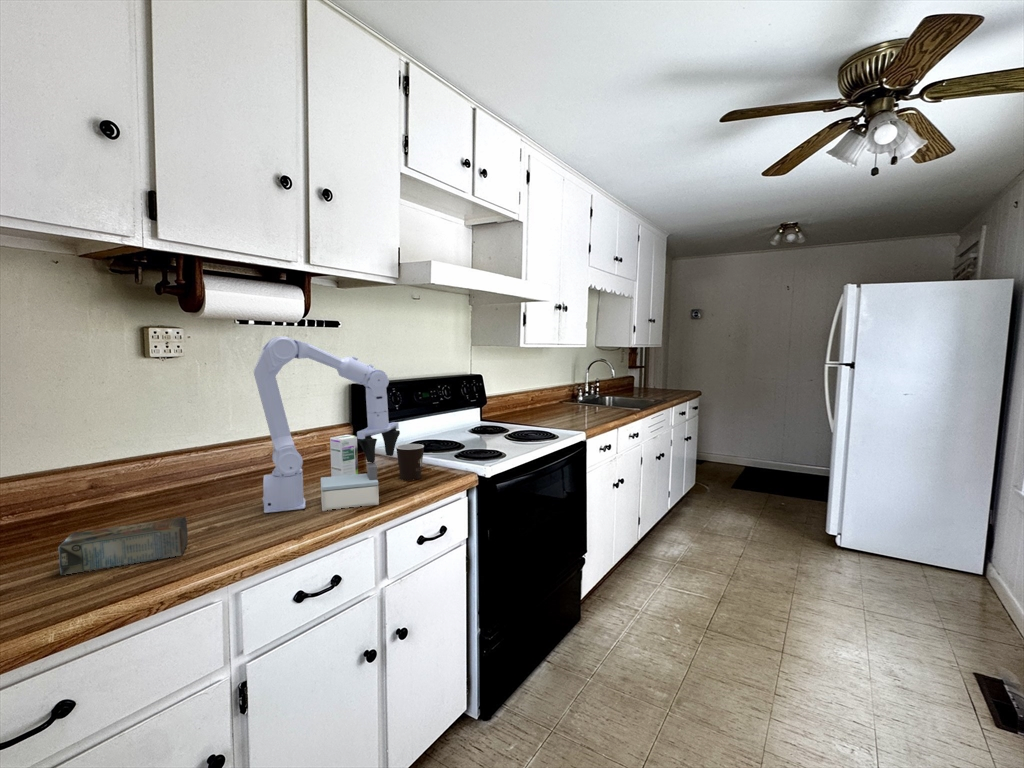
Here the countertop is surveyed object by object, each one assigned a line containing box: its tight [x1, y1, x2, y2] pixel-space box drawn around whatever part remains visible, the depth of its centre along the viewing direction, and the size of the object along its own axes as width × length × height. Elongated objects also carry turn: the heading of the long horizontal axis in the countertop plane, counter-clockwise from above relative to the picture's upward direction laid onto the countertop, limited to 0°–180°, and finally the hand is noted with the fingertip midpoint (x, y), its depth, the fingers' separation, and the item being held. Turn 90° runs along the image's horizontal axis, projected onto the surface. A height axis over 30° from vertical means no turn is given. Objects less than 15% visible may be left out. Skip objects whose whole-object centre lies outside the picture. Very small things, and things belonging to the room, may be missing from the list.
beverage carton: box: [57, 515, 189, 576], centre depth 97 cm, size 8×19×7 cm, turn 118°
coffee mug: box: [395, 443, 425, 481], centre depth 157 cm, size 12×9×10 cm
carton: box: [320, 484, 380, 512], centre depth 131 cm, size 14×10×5 cm
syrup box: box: [329, 434, 359, 477], centre depth 148 cm, size 6×6×14 cm
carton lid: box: [320, 462, 379, 491], centre depth 131 cm, size 14×10×4 cm
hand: (380, 458), depth 139 cm, fingers open, 7 cm apart
